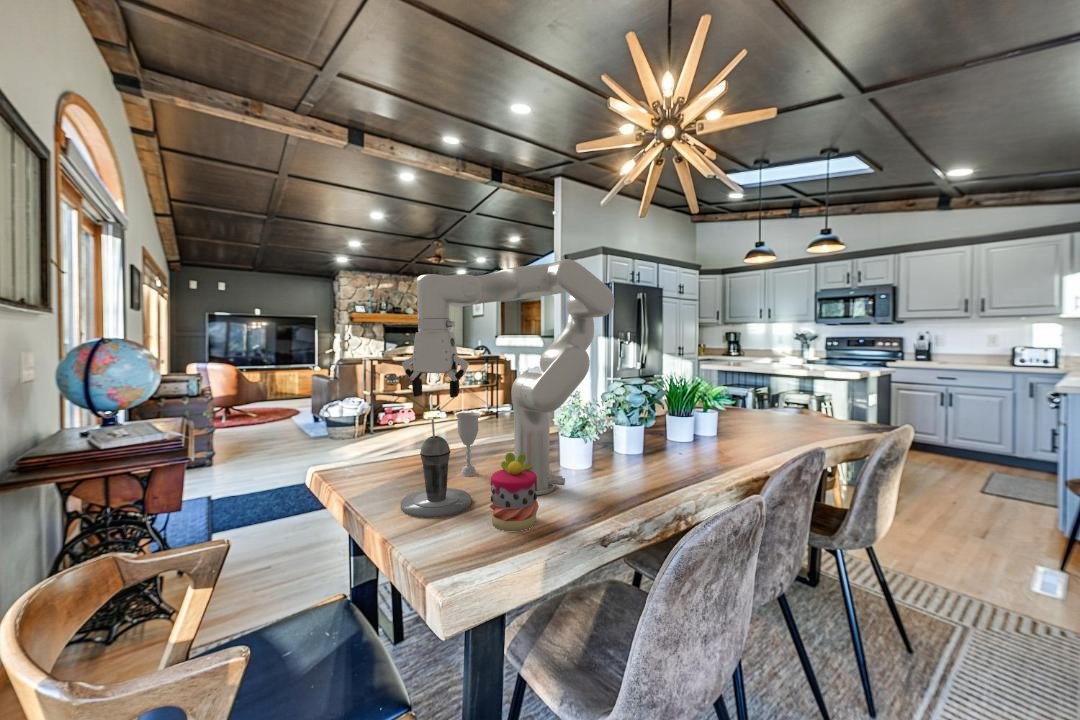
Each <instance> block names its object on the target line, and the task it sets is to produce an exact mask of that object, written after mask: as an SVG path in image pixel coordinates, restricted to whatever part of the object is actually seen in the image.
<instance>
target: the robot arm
mask: <svg viewBox="0 0 1080 720" xmlns="http://www.w3.org/2000/svg"><path fill="white" fill-rule="evenodd" d="M564 293H566V294H569V295H568V296H567V299H566V303H565V304H566V313H567V322H566V325H565V327H564V329H562V331H561V333H559V335H558V336H557V337H556V338H555V339H554V340H553V342H552V343H551V344H550V345H549V346H547V348H546V349H545V350H544V351H543V353H542V355H541V356H540V359H539V367H540V370H541V371H542V373H539V372H533V371H531V372H530V371H529V372H525V373H522V374H519V375H518V376H517V377H516V378H515V380H514V381H513V383H512V386H511V393H510V394H511V395H510V396H511V402H512V410H513V418H514V419H513V420H514V421H513V422H514V424H513V425H514V426H513V427H514V429H513V430H514V433H513V434H514V441H513V442H514V455H515V461H517V458H518V456H519V455H520V454H521V453H524V454H525V456H526V460H525V461H524V463H523V465H526V464H530V465H532V467H533V468H532V469H531V470H530V471H532V472H534V473H535V474H536V476H537V491H536V494H537V496H543V495H546V494H549V493H552V492H553V491H554V490H555V488H556V485H558V486H565V485H566V478H565V477H563V476H562V475H554V474H553V469H550V468H551V466H550V464H551V463H550V430H551V429H550V426H551V425H550V417H549V413H552V412H555V411H556V410H558V409H559V408H560V407H561V406H562V405H564V403H565V402H566V401H567V400H568V398H570V396H571V395H572V394H573V393H574V392H575V390H576V389H577V388H578V387H579V385H580V384H581V383H582V382H583V380H584V379H585V377H587V374H588V372H589V369H590V363H591V362H590V357H589V354H588V352H587V349H588V348H590V347H589V346H590V345H591V344H592V342H593V340H594V337H595V325H594V324H595V322H594V321H595V320H594V318H601V317H606V316H608V315H609V314H610V312H612V311H613V309H614V307H615V297H614V293H613V292H612V290H611V289H610V288H609V286H608V285H606V284H605V283H604V282H603V281H602V280H600V279H599V278H598V277H597V276H596V275H595V274H593V273H592V272H591V271H590V270H589V269H587V268H585V267H584V266H583V265H582V264H580V263H579V262H577V261H575V260H573V259H570V258H569V259H568V258H567V259H566V258H565V259H561V260H558V261H555V262H554V261H553V262H550V263H542V264H533V265H523V266H514V267H513V266H512V267H509V268H506V269H505V268H504V269H501V270H498V271H495V272H491V273H487V274H482V275H476V276H475V275H472V274H466V273H465V274H456V275H455V274H454V275H443V274H435V273H432V274H431V273H427V274H421V275H419V276H418V277H417V279H416V302H417V331H418V332H415V337H414V341H413V342H414V343H413V350H412V351H413V352H412V353H413V355H412V356H411V357H409V358H407V359H405V360H403V361H402V362H401V366H402V368H403V370H404V371H405V374H406V375H407V376H408V377H409V379H410V381H412V382H411V383H412V388H411V389H412V390H411V391H412V393H413V397H414V398H416V397H420V396H422V395H423V380H422V379H421V377H422V376H423V374H447V376H448V377H449V378H450V379H451V380H450V381H449V397H450V398H456V397H458V396H459V393H460V380H461V379H462V377H464V375H466V373H467V369H468V367H469V366H470V362H469V361H467V360H465V359H464V358H462V357H460V356H458V350H457V344H456V343H457V342H456V337H455V335H454V334H455V333H454V331H451V328H453V327H455V325H456V322H455V321H454V320H453V321H452V320H451V318H450V306H452V307H454V308H455V307H456V308H460V307H467V306H474V305H479V304H488V303H496V302H497V303H498V302H512V301H520V300H526V299H533V298H539V297H545V296H546V297H547V296H553V295H559V294H564ZM411 364H412V366H413V369H412V367H411ZM459 365H460V369H459ZM458 369H459V370H458ZM457 370H458V371H457Z"/></svg>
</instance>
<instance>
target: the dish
mask: <svg viewBox="0 0 1080 720" xmlns="http://www.w3.org/2000/svg"><path fill="white" fill-rule="evenodd" d="M471 505H472V495H471V494H470V493H469V492H467V491H465V490H462V489H458V488H451V487H447V492H446V499H445V500H443V501H440V502H430V501H428V500H427V494H426V489H423V490H419V491H415V492H412V493H410V494H408V495H406V496H405V497H402V499H401V500H400V510H401V512H402V511H403V512H404V513H403V512H402V513H403V514H405V515H407V514H408V515H407V516H410V515H411V516H410V517H414V516H415V517H414V518H420V517H423V518H424V519H432V518H434V517H436V518H442V516H444V517H449V516H453V515H457V514H459V513H462V512H464V511H465V510H467V509H468V508H469V507H471ZM461 511H462V512H461ZM456 513H457V514H456Z"/></svg>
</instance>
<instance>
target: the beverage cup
mask: <svg viewBox="0 0 1080 720" xmlns="http://www.w3.org/2000/svg"><path fill="white" fill-rule="evenodd" d="M431 428H432V429H431V432H432V436H430V437H428V438H426V439H425V440H424V441H423V443H422V445H421V447H420V451H419V453H420V454H419V455H420V458H421V463H422V469H423V478H424V485H425V486H424V487H425V490H426V494H427V500H428V501H430V502H440V501H443V500H445V499H446V492H447V488H448V473H449V461H450V455H451V450H450V445H449V443H448V441H447V440H446V439H445V438H443V437H442V436H439V435H435V420H434V419H431Z"/></svg>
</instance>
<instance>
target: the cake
mask: <svg viewBox="0 0 1080 720" xmlns="http://www.w3.org/2000/svg"><path fill="white" fill-rule="evenodd" d="M504 457H505V458H504V459H505V460H503V461H501V464H500V465H501V468H502V469H499V470H496V471H495V472H493V473H492V474H491V476H490V486H491V487H490V491H491V496H490V502H491V503H492V504H491V503H490V505H489V508H490V509H492V510H493V511H492V513H491V523H492V527H493V528H494V529H496V528H497V529H496V530H498V529H500V530H499V531H501V530H504V531H503V532H506V531H519V532H522V531H521V530H524V531H526V530H525V529H528V530H530V529H532V528H533V527H535V526H536V524H537V513H538V509H539V506H540V505H539V503H538V501H537V498H538V495H537V494H536V491H537V476H536V474H535V473H534V472H532V471H530V470H531V469H532V468H533V467H532V465H530V464H526V465H523V463H524V461H525V460H526V456H525V454H524V453H521V454H520V455H519V456H518V458H517V461H515V453H513V452H508V453H506V454H505V456H504ZM535 523H536V524H535ZM534 525H535V526H534ZM532 526H533V527H532ZM531 527H532V528H531ZM529 528H530V529H529Z"/></svg>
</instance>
